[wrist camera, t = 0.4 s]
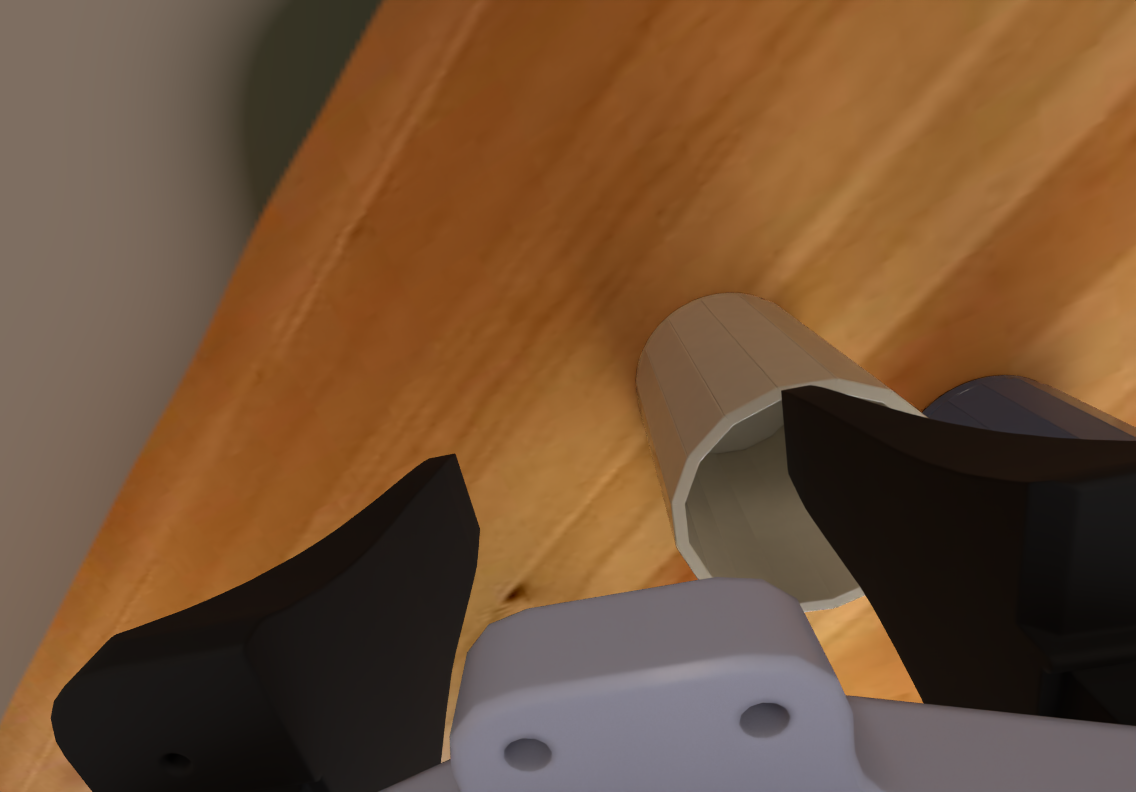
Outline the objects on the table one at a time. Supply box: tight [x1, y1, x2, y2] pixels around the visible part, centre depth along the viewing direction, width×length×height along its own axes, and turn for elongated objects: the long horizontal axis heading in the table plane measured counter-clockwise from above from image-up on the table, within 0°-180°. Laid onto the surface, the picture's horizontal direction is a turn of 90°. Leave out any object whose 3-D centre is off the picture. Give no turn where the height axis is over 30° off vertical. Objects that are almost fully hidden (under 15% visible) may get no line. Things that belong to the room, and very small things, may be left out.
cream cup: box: [636, 293, 928, 612], centre depth 19 cm, size 7×7×9 cm
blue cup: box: [922, 375, 1136, 441], centre depth 20 cm, size 7×7×9 cm
